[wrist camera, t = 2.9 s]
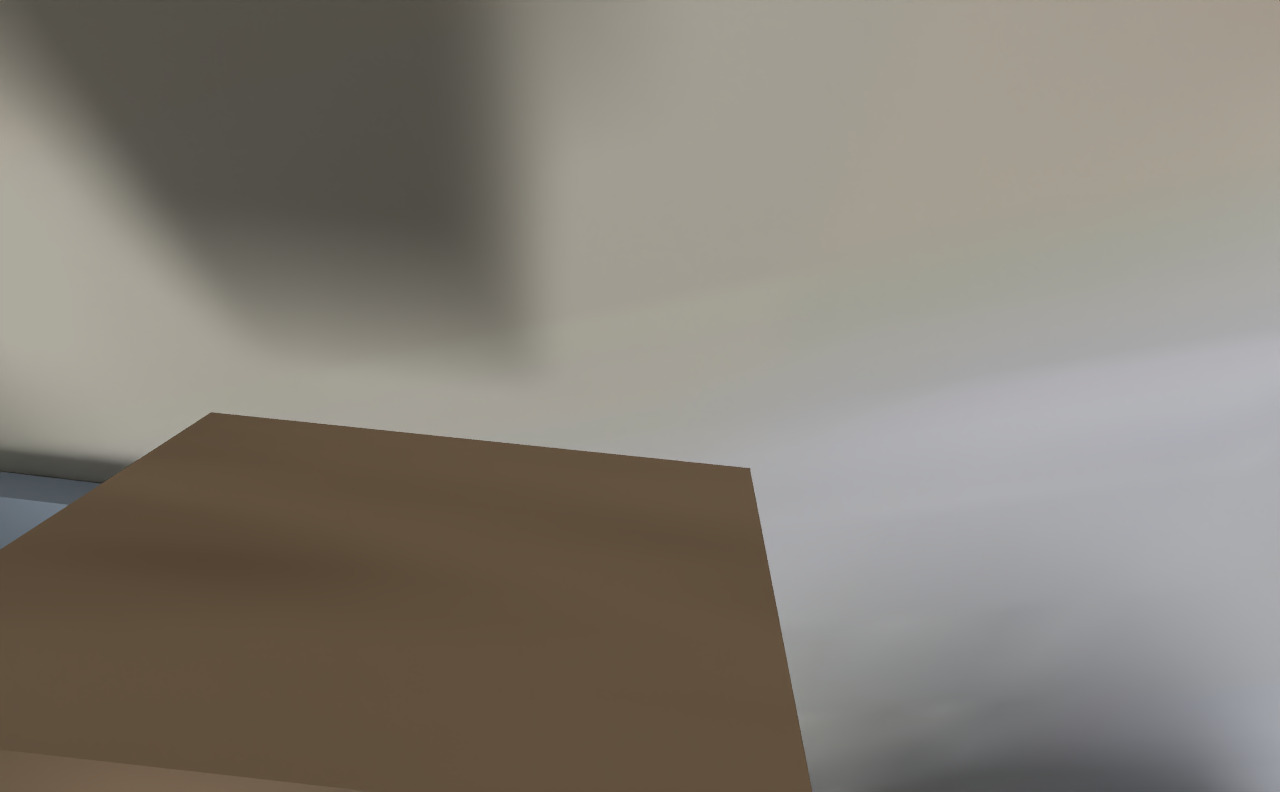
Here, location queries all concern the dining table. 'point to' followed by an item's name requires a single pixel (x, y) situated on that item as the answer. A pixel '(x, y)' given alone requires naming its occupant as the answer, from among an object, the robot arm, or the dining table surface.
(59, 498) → the board
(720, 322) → the dining table surface
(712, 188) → the dining table surface
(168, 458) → the walnut block
